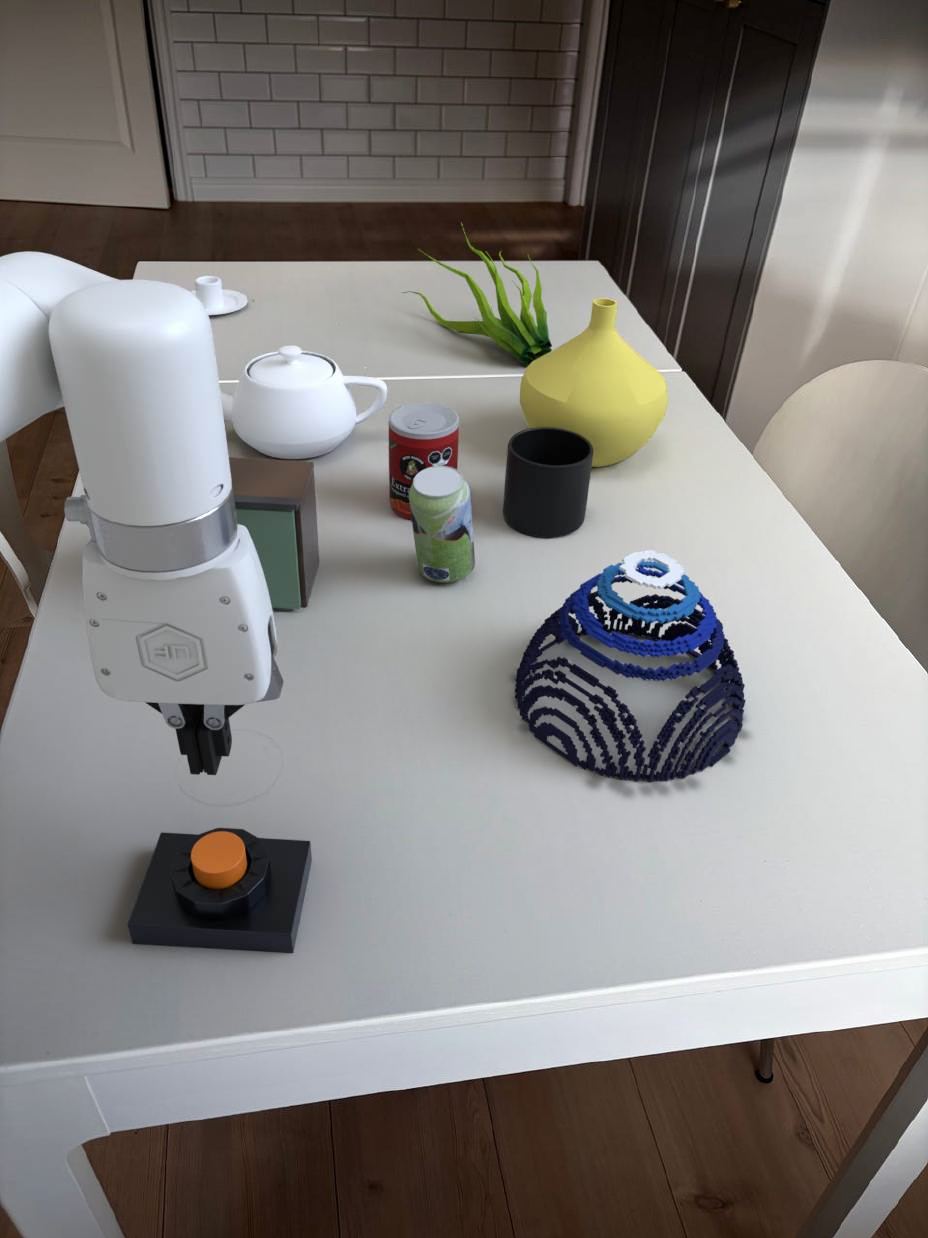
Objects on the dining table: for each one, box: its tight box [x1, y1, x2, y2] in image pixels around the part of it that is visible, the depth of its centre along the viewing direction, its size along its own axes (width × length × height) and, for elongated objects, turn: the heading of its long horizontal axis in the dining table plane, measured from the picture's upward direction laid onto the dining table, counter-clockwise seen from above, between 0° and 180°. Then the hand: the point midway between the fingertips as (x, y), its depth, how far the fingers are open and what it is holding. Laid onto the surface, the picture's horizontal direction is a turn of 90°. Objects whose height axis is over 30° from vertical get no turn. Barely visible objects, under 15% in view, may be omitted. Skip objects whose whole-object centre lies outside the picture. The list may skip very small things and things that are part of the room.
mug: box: [502, 427, 594, 538], centre depth 112 cm, size 9×12×9 cm
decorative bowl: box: [513, 549, 746, 783], centre depth 85 cm, size 20×20×14 cm
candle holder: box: [188, 275, 249, 316], centre depth 161 cm, size 12×12×4 cm
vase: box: [518, 297, 669, 468], centre depth 122 cm, size 18×18×19 cm
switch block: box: [127, 827, 313, 954], centre depth 69 cm, size 11×8×4 cm
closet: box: [229, 456, 320, 608], centre depth 97 cm, size 16×9×13 cm, turn 88°
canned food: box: [388, 402, 460, 520], centre depth 112 cm, size 8×8×11 cm
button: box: [191, 831, 247, 889], centre depth 68 cm, size 4×4×2 cm
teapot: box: [220, 344, 388, 460], centre depth 123 cm, size 25×16×12 cm, turn 92°
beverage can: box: [409, 466, 476, 584], centre depth 100 cm, size 6×7×12 cm
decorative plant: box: [401, 222, 553, 367], centre depth 152 cm, size 18×30×15 cm, turn 12°
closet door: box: [235, 507, 302, 610], centre depth 92 cm, size 8×6×11 cm
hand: (208, 759), depth 65 cm, fingers closed
